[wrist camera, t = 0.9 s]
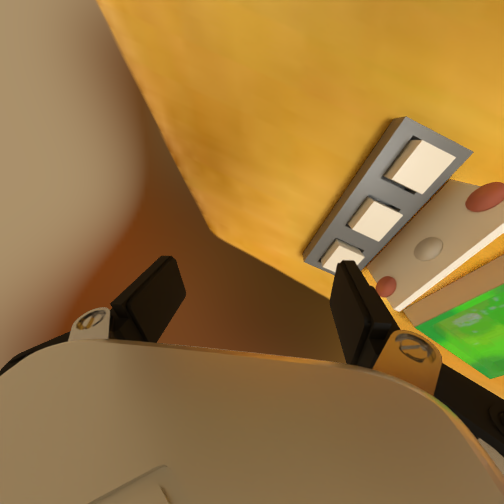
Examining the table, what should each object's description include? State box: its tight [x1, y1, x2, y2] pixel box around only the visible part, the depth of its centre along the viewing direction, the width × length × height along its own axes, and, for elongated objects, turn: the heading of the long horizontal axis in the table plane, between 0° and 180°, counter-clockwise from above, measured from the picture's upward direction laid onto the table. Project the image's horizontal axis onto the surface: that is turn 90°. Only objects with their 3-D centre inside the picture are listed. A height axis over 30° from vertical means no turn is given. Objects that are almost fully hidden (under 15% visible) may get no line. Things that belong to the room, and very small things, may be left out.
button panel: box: [303, 117, 504, 312], centre depth 27 cm, size 24×14×11 cm, turn 158°
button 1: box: [383, 140, 456, 194], centre depth 25 cm, size 5×5×3 cm
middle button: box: [347, 196, 403, 242], centre depth 29 cm, size 5×5×3 cm
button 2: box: [320, 238, 364, 272], centre depth 33 cm, size 5×5×3 cm
